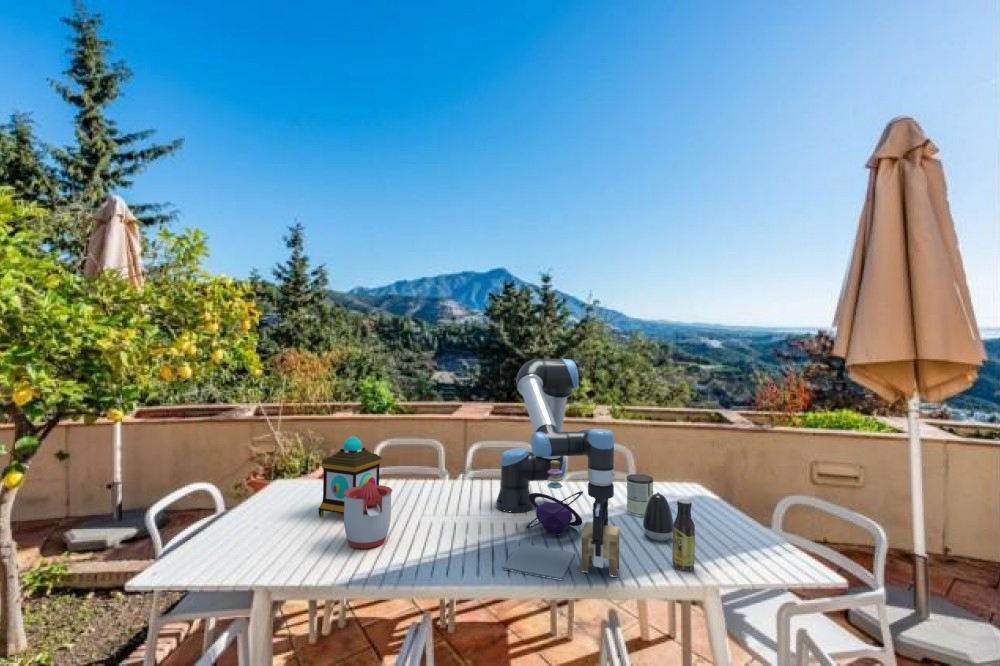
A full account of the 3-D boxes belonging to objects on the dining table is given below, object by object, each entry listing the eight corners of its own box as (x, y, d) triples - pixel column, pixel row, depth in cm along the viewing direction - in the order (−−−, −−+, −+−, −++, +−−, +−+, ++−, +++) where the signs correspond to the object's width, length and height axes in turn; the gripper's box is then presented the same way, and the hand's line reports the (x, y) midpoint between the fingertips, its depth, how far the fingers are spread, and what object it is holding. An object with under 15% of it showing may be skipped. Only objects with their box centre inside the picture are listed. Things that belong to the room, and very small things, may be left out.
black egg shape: (673, 534, 167) (673, 491, 168) (674, 545, 158) (674, 499, 158) (643, 530, 171) (643, 488, 171) (642, 541, 161) (642, 496, 162)
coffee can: (624, 508, 196) (624, 473, 197) (650, 509, 195) (650, 474, 195) (629, 516, 186) (629, 480, 186) (656, 517, 185) (655, 481, 185)
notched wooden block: (581, 571, 138) (581, 530, 138) (585, 562, 145) (586, 522, 145) (616, 578, 134) (616, 535, 135) (619, 567, 141) (619, 526, 142)
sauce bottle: (668, 562, 145) (668, 497, 145) (688, 562, 145) (688, 496, 146) (678, 572, 138) (678, 503, 139) (699, 572, 139) (698, 503, 139)
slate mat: (502, 569, 139) (502, 566, 139) (521, 546, 156) (521, 544, 156) (562, 580, 132) (562, 577, 132) (575, 555, 149) (575, 552, 149)
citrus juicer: (347, 558, 145) (349, 492, 146) (338, 538, 161) (340, 478, 162) (397, 549, 153) (399, 486, 153) (384, 530, 168) (385, 474, 169)
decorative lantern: (312, 517, 180) (314, 438, 182) (347, 502, 199) (349, 430, 200) (355, 525, 173) (357, 442, 174) (387, 509, 191) (388, 434, 192)
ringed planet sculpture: (596, 531, 170) (597, 461, 171) (565, 549, 154) (565, 471, 155) (545, 516, 184) (545, 452, 185) (511, 532, 168) (512, 461, 169)
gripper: (608, 493, 130) (608, 578, 129) (617, 475, 149) (617, 550, 148) (581, 489, 133) (581, 573, 132) (593, 473, 151) (593, 546, 150)
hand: (600, 560), depth 140 cm, fingers closed on notched wooden block, 7 cm apart
